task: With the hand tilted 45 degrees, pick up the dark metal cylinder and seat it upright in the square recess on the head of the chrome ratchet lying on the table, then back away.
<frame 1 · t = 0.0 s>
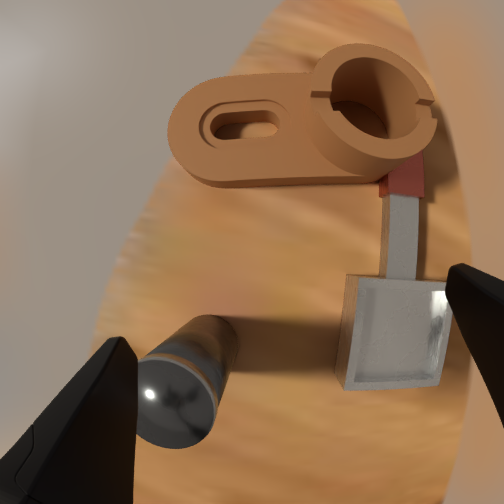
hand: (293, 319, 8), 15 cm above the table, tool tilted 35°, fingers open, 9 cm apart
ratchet: (387, 327, 22), on the table
bracket: (291, 136, 23), on the table, touching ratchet
dark metal cylinder: (208, 343, 23), on the table
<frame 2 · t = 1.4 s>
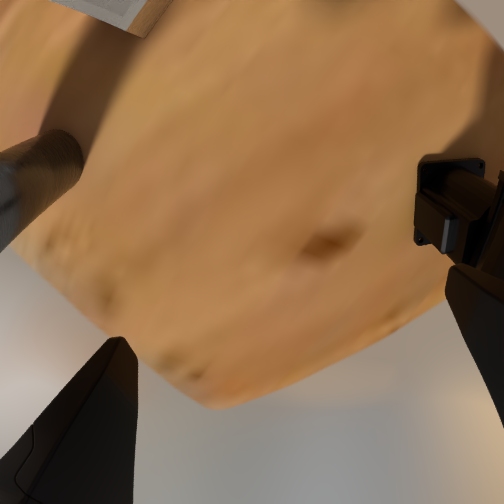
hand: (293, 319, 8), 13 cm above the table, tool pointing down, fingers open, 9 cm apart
dark metal cylinder: (56, 161, 17), on the table
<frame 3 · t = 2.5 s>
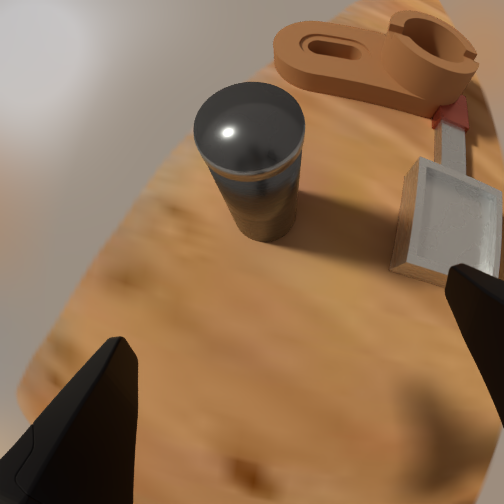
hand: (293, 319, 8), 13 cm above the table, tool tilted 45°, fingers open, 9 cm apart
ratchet: (441, 235, 21), on the table
bracket: (367, 76, 25), on the table, touching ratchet
dark metal cylinder: (264, 211, 22), on the table
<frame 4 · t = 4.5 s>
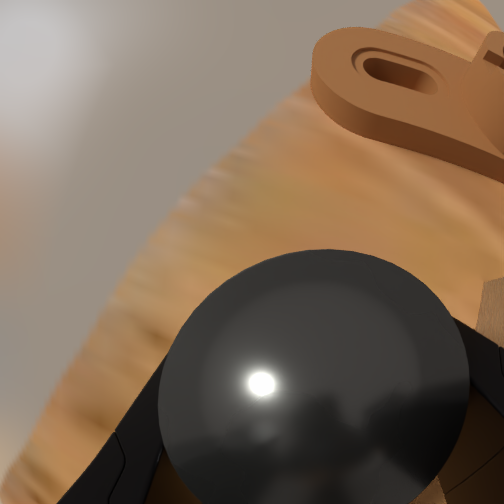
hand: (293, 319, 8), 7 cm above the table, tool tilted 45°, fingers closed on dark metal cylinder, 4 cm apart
bracket: (436, 115, 17), on the table, touching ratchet
dark metal cylinder: (293, 350, 14), on the table, touching gripper
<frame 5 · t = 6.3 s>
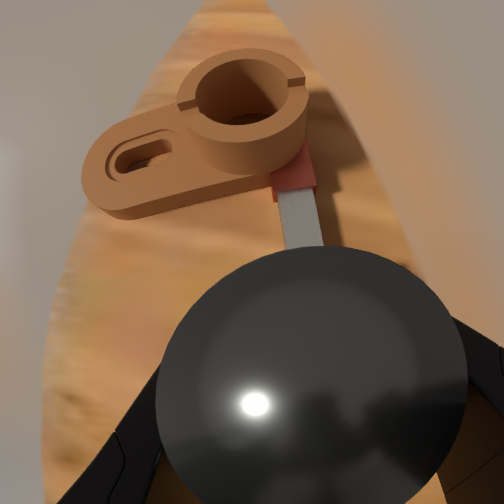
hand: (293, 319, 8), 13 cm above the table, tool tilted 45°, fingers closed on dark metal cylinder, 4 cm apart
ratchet: (316, 337, 20), on the table
bracket: (193, 160, 25), on the table, touching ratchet
dark metal cylinder: (293, 349, 14), point 6 cm above the table, touching gripper
when the fingers open (11 cm above the table, at t = 7.3 s): dark metal cylinder drops 1 cm, resting on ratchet.
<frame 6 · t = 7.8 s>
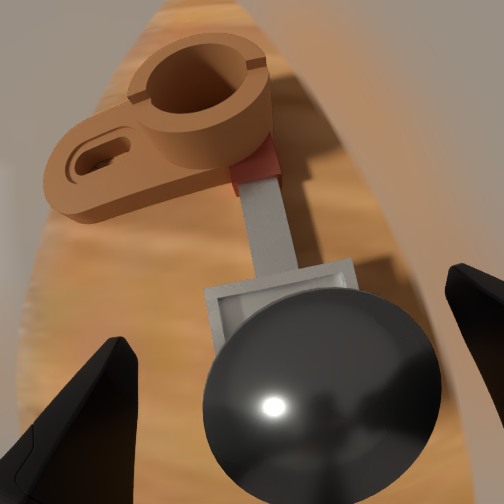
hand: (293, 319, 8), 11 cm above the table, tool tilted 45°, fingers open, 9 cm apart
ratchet: (291, 344, 18), on the table
bracket: (156, 157, 22), on the table, touching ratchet
dark metal cylinder: (293, 349, 15), point 2 cm above the table, touching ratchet
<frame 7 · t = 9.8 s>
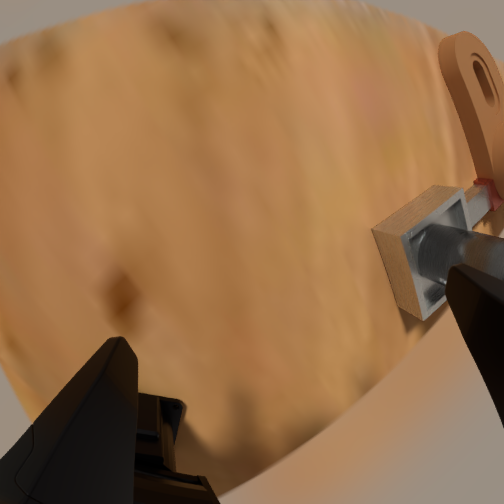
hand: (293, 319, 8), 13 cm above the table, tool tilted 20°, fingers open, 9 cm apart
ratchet: (417, 245, 24), on the table
bracket: (477, 118, 24), on the table, touching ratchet
dark metal cylinder: (437, 252, 21), point 2 cm above the table, touching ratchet
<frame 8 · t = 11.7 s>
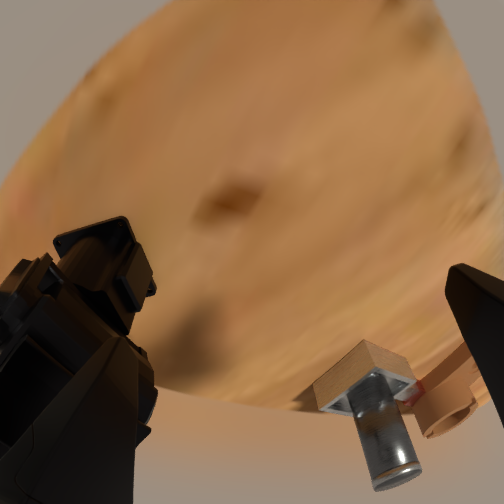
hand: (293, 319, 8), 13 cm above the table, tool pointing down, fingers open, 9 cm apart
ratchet: (361, 371, 30), on the table
bracket: (458, 359, 33), on the table, touching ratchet
dark metal cylinder: (367, 388, 28), point 2 cm above the table, touching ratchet
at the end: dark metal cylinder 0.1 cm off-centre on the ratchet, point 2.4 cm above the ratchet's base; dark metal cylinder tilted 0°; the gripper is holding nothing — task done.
